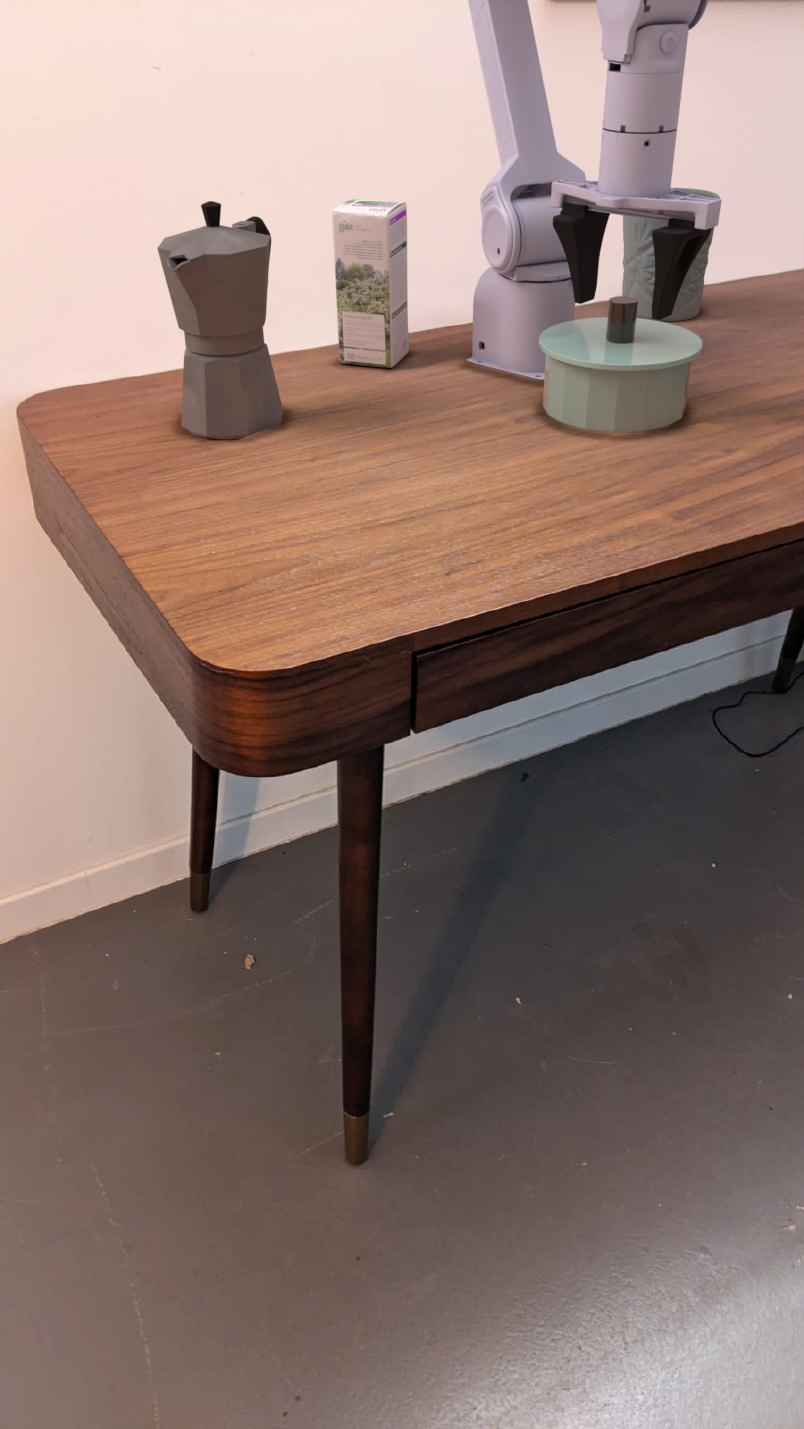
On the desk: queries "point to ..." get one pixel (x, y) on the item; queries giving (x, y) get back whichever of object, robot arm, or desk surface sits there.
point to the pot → (614, 396)
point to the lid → (620, 341)
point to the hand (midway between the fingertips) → (622, 308)
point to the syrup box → (371, 281)
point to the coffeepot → (223, 325)
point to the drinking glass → (643, 267)
